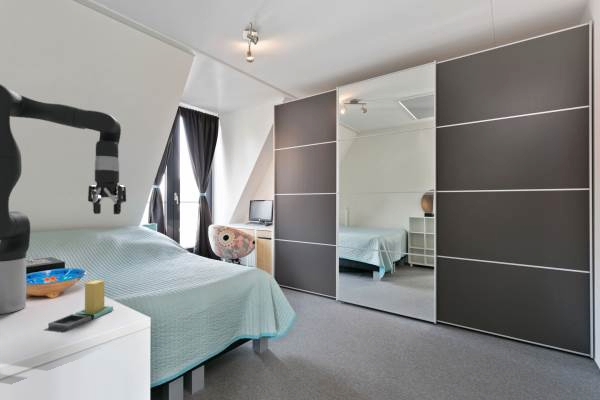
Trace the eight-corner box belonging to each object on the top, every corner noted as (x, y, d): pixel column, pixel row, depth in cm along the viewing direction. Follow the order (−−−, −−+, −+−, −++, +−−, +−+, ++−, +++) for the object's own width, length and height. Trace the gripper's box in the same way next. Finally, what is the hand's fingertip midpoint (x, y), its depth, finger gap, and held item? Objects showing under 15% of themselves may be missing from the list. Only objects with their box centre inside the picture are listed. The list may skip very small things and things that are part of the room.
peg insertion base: (42, 334, 83) (42, 325, 83) (96, 311, 99) (96, 304, 99) (63, 336, 81) (63, 328, 81) (114, 313, 98) (114, 306, 98)
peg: (84, 315, 93) (84, 283, 93) (95, 310, 97) (95, 280, 97) (94, 316, 92) (94, 284, 92) (104, 311, 96) (104, 280, 96)
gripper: (81, 169, 107) (81, 214, 107) (115, 168, 104) (115, 214, 104) (99, 171, 114) (99, 213, 114) (131, 170, 111) (131, 213, 111)
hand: (107, 213), depth 109 cm, fingers open, 8 cm apart
